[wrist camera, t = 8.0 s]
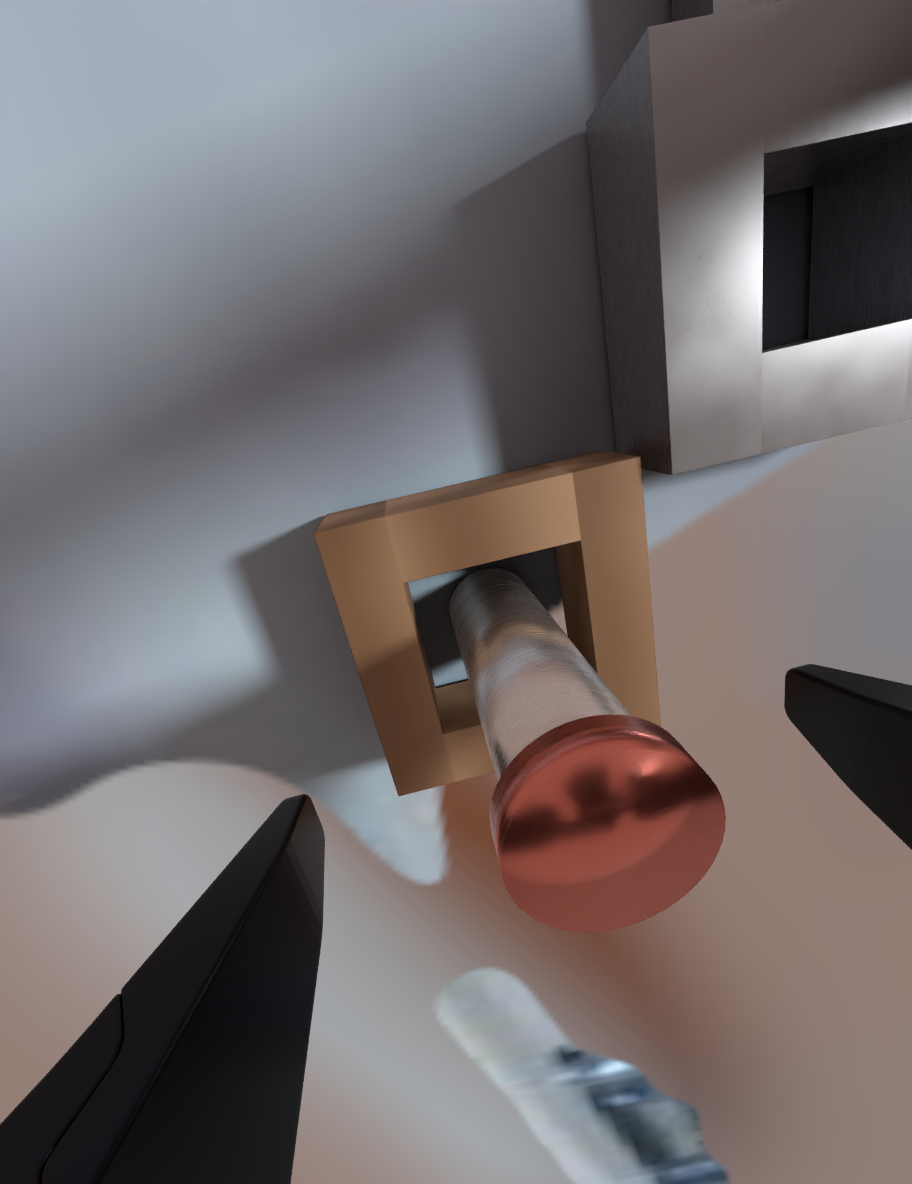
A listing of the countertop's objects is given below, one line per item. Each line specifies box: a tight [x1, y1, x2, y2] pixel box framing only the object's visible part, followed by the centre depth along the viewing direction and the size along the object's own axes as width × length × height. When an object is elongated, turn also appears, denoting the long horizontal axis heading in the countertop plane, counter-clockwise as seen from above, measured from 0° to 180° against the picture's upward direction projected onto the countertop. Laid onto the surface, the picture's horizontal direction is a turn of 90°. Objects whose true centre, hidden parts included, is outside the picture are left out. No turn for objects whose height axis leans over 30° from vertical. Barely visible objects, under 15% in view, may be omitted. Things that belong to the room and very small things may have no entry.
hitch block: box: [586, 0, 912, 475], centre depth 11 cm, size 8×13×3 cm, turn 12°
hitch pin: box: [450, 568, 726, 932], centre depth 11 cm, size 3×3×9 cm
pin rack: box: [314, 451, 661, 796], centre depth 14 cm, size 8×8×2 cm
